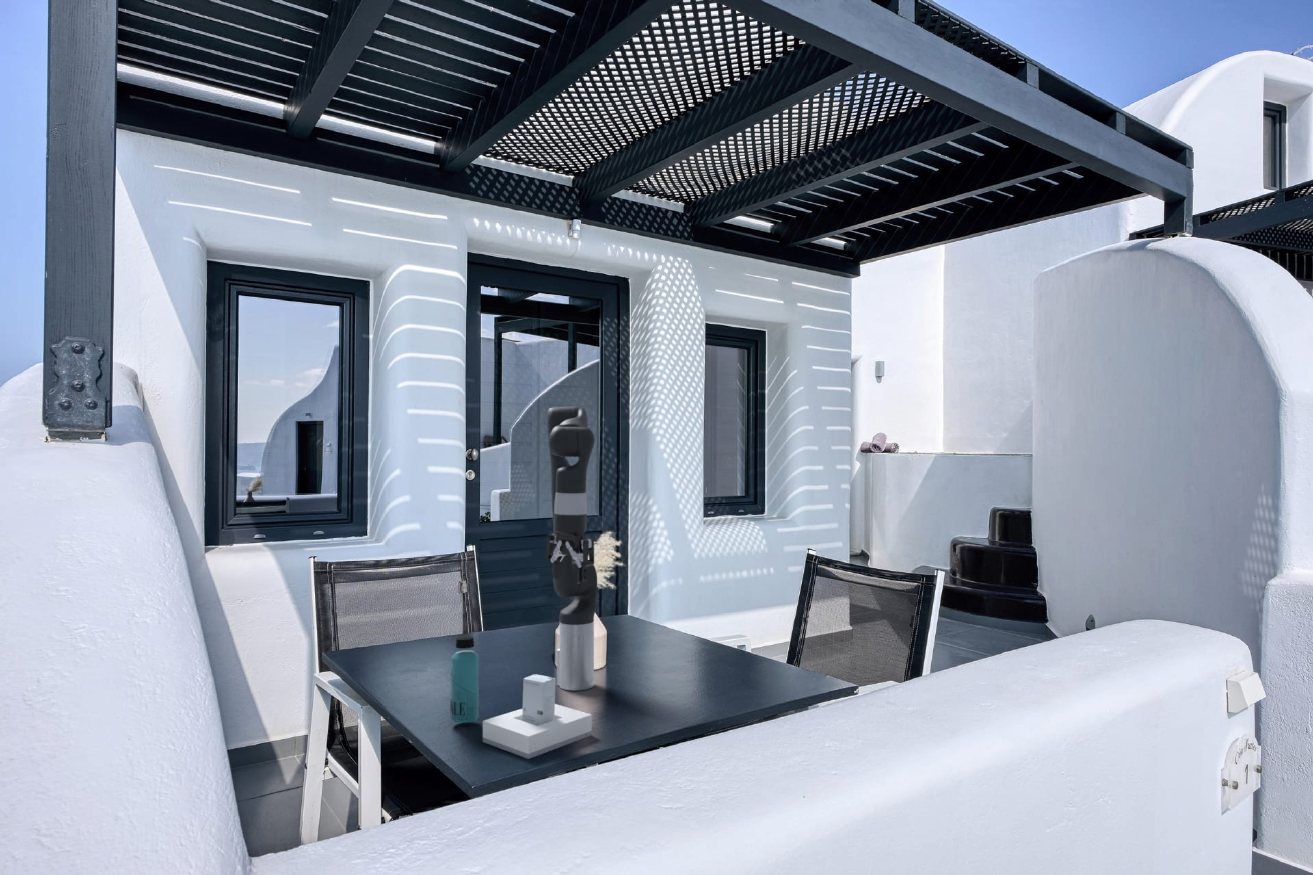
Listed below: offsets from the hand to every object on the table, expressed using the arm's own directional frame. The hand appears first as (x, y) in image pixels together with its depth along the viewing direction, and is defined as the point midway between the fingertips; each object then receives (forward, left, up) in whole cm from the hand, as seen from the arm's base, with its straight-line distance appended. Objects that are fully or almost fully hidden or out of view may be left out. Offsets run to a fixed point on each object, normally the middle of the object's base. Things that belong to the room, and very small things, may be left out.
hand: (569, 581), depth 185 cm
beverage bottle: (-15, -18, -32) cm, 40 cm away
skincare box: (+4, -13, -31) cm, 34 cm away
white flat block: (+4, -13, -32) cm, 35 cm away
